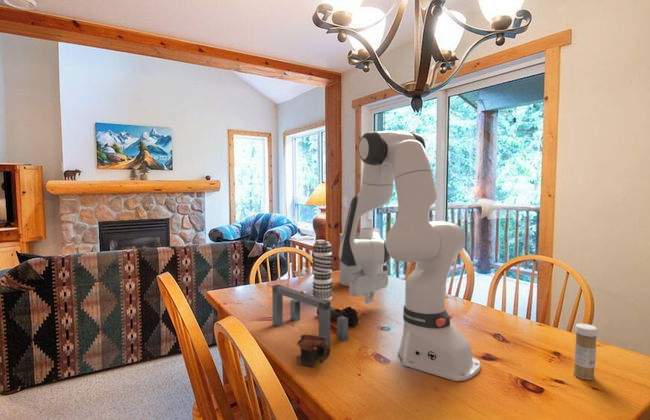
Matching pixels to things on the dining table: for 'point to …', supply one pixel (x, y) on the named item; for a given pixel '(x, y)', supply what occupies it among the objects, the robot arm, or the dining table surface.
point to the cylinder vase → (347, 271)
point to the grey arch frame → (305, 298)
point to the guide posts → (341, 321)
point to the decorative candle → (322, 270)
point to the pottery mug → (312, 350)
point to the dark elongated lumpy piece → (343, 314)
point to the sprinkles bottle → (585, 351)
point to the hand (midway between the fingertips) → (368, 302)
